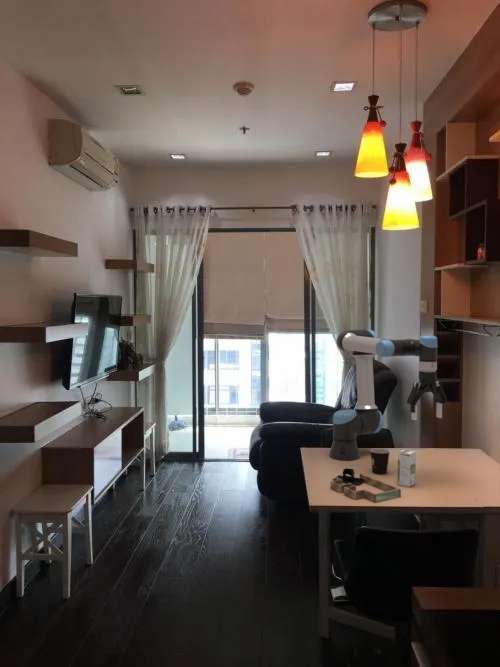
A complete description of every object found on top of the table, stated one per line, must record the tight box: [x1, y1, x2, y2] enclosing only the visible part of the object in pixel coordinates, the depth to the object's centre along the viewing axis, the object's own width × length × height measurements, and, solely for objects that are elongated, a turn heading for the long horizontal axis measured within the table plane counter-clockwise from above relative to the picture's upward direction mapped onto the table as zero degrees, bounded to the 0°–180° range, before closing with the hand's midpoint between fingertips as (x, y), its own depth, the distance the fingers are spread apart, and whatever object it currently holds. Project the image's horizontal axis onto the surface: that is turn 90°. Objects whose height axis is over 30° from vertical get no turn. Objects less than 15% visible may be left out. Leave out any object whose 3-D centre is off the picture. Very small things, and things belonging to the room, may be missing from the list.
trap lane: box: [329, 473, 402, 503], centre depth 222 cm, size 24×18×3 cm
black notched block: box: [332, 467, 364, 485], centre depth 235 cm, size 12×7×5 cm, turn 57°
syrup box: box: [396, 448, 417, 488], centre depth 231 cm, size 6×6×14 cm
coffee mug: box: [369, 448, 390, 475], centre depth 250 cm, size 12×9×10 cm
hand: (426, 418), depth 238 cm, fingers open, 13 cm apart
